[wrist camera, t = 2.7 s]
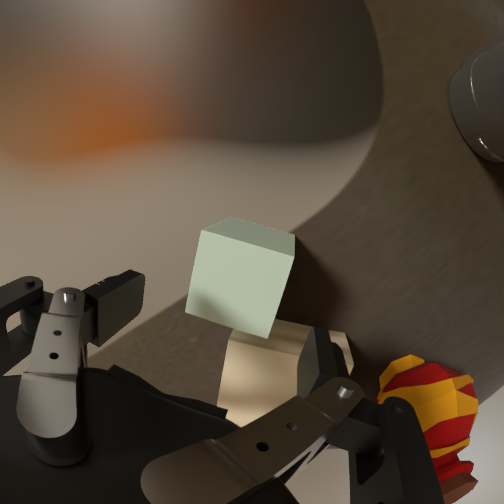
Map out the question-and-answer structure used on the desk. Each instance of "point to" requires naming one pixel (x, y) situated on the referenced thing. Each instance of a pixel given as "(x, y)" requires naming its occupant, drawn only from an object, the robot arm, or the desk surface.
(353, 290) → the desk surface
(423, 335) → the desk surface
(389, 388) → the potion bottle
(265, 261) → the green block
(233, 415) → the beech base
